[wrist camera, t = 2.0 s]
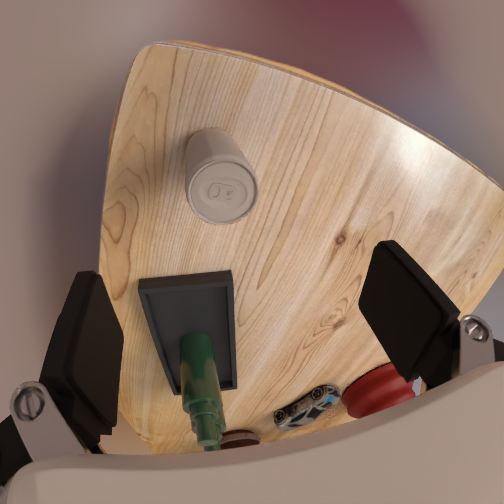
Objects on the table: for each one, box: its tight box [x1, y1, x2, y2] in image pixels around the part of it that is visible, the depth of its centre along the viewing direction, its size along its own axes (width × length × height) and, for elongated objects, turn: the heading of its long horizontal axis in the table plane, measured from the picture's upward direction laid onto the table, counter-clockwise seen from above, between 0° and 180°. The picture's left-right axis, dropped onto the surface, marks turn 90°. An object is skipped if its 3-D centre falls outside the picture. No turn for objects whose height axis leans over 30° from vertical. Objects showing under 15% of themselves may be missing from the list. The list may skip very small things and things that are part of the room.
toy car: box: [274, 385, 340, 431], centre depth 61 cm, size 7×17×5 cm, turn 134°
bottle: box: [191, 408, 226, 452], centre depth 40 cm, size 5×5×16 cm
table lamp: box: [342, 363, 416, 419], centre depth 49 cm, size 20×20×45 cm
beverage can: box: [185, 127, 259, 225], centre depth 23 cm, size 5×5×12 cm
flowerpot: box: [219, 430, 260, 450], centre depth 60 cm, size 14×15×20 cm
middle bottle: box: [179, 333, 223, 446], centre depth 36 cm, size 5×5×16 cm
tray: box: [138, 270, 237, 395], centre depth 42 cm, size 12×26×2 cm, turn 179°
